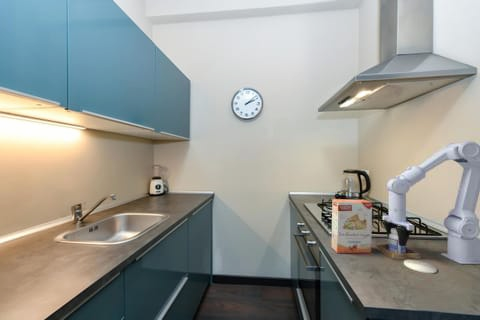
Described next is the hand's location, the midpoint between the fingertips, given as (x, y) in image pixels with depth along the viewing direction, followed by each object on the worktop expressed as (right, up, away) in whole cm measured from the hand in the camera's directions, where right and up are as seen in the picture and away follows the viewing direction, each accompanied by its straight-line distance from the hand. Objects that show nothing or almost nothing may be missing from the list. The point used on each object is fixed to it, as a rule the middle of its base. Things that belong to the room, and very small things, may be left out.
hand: (396, 242), depth 89 cm
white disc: (0, -4, -11) cm, 12 cm away
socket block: (0, -4, 0) cm, 4 cm away
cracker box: (-17, -5, +2) cm, 18 cm away
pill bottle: (0, -5, 0) cm, 5 cm away
